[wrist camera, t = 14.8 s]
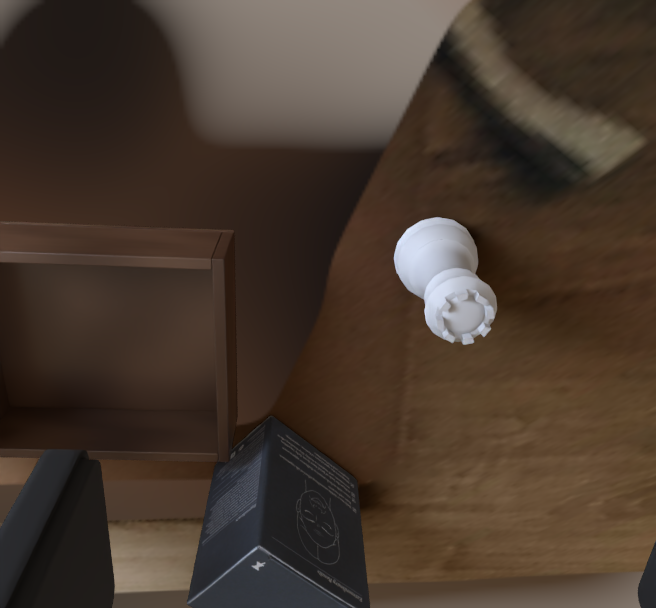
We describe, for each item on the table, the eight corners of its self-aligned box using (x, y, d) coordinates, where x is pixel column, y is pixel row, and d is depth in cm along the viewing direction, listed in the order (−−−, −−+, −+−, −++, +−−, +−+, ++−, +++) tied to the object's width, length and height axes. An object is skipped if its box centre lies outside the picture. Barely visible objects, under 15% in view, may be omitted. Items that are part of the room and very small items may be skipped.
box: (213, 464, 40) (182, 606, 31) (271, 411, 39) (258, 544, 29) (301, 526, 43) (298, 675, 33) (360, 479, 41) (375, 622, 32)
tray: (4, 411, 38) (-31, 456, 34) (-37, 219, 33) (-83, 248, 29) (237, 417, 39) (229, 462, 35) (234, 229, 33) (224, 259, 30)
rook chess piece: (477, 213, 33) (522, 270, 26) (470, 289, 35) (510, 362, 28) (394, 215, 33) (417, 273, 26) (391, 291, 35) (411, 364, 28)
